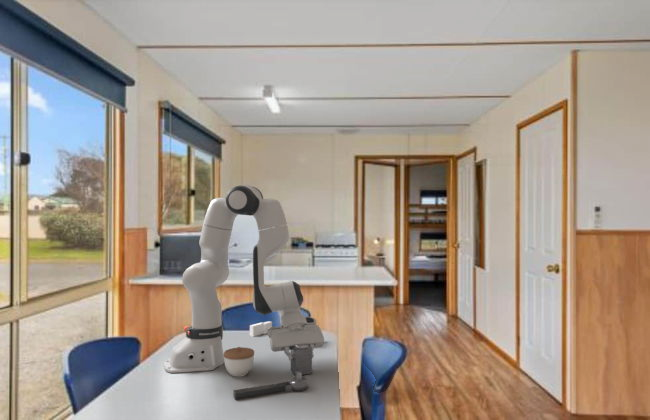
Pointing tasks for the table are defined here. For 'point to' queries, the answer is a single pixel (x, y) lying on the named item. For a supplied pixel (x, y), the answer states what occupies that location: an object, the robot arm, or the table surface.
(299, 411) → the table surface
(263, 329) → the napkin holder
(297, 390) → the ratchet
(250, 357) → the lidded jar
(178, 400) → the table surface
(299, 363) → the grey metal block
